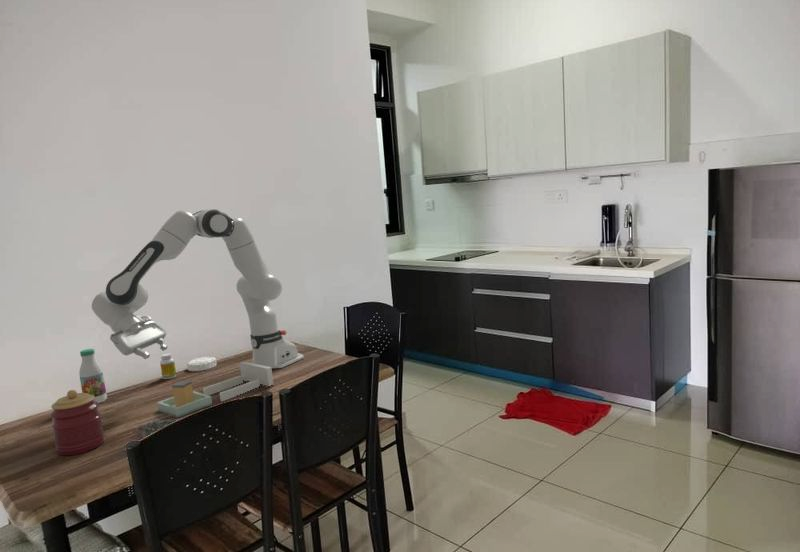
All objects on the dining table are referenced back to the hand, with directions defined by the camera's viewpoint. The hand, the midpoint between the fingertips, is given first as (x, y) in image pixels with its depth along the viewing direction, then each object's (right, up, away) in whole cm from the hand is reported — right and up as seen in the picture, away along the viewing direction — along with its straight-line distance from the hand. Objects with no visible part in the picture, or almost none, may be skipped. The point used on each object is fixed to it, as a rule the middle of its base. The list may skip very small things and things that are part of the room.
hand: (156, 353), depth 202 cm
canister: (-9, -24, -32) cm, 41 cm away
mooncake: (+1, -13, +45) cm, 47 cm away
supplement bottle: (-9, -15, +34) cm, 38 cm away
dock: (+26, -15, +8) cm, 31 cm away
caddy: (+13, -17, -6) cm, 22 cm away
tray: (+13, -18, -6) cm, 23 cm away
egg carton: (+13, -21, -28) cm, 37 cm away
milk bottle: (-27, -20, +10) cm, 35 cm away
